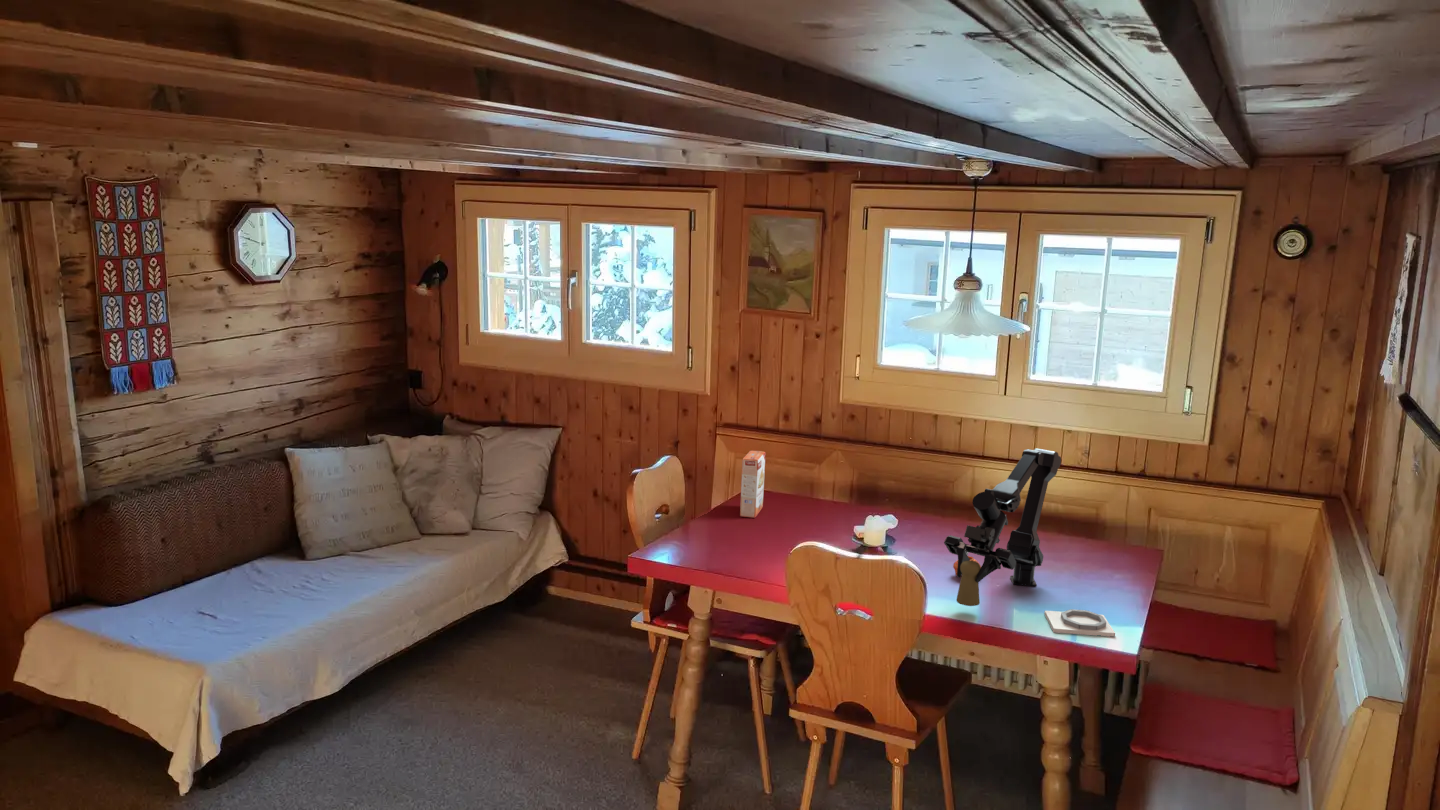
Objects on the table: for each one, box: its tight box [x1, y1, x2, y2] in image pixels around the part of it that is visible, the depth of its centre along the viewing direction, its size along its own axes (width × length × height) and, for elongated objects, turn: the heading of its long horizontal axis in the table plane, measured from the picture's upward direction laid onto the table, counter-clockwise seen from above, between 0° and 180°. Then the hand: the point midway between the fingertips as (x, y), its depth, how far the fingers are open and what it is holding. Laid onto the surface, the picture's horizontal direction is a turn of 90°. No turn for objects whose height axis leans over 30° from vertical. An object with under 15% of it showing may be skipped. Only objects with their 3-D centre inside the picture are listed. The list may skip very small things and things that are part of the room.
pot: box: [952, 555, 982, 577], centre depth 289 cm, size 8×8×7 cm
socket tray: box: [1044, 609, 1116, 637], centre depth 256 cm, size 12×15×2 cm
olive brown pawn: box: [956, 561, 981, 607], centre depth 261 cm, size 6×6×11 cm
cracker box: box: [739, 450, 767, 519], centre depth 346 cm, size 14×6×21 cm, turn 167°
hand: (967, 579), depth 260 cm, fingers closed on olive brown pawn, 5 cm apart
